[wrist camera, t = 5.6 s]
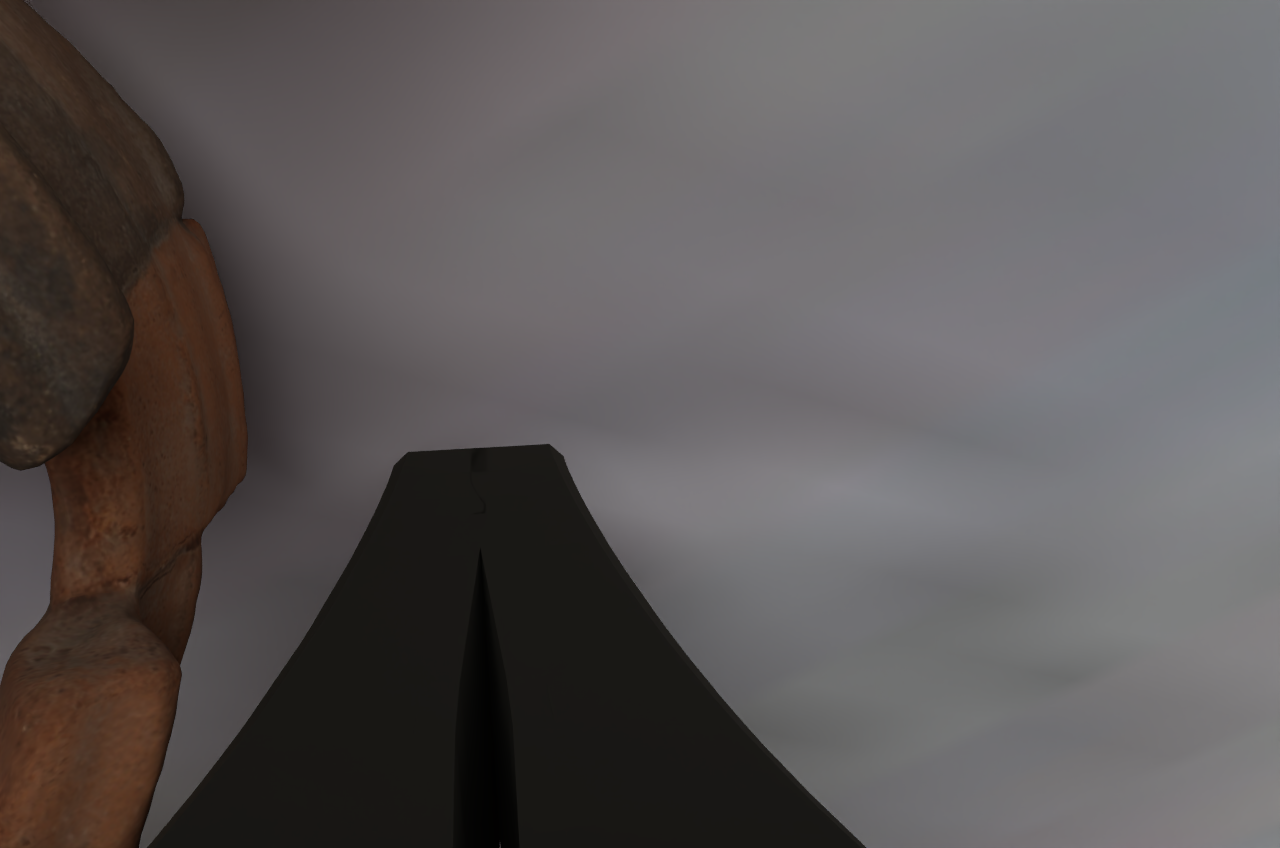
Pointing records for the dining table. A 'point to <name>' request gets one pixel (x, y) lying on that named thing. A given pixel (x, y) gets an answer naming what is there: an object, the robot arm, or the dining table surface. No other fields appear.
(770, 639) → the dining table surface
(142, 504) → the pottery mug
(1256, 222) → the dining table surface
